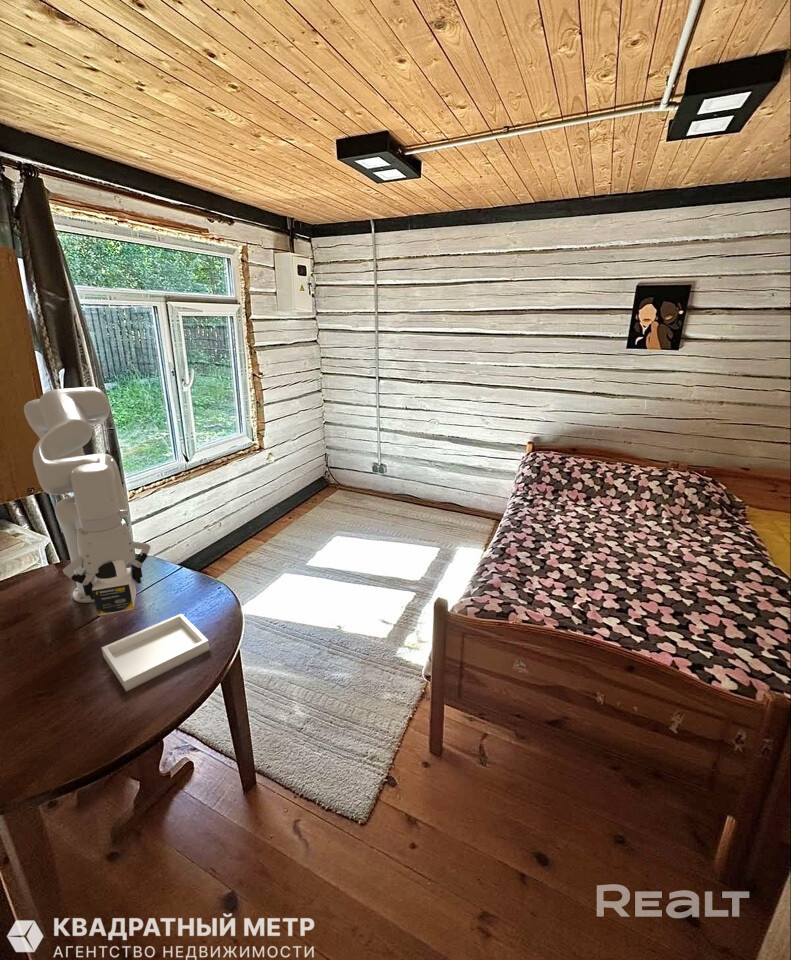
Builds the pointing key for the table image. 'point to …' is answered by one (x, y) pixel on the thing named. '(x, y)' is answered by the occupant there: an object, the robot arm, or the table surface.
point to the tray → (154, 651)
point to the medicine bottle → (114, 588)
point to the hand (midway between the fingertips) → (115, 588)
